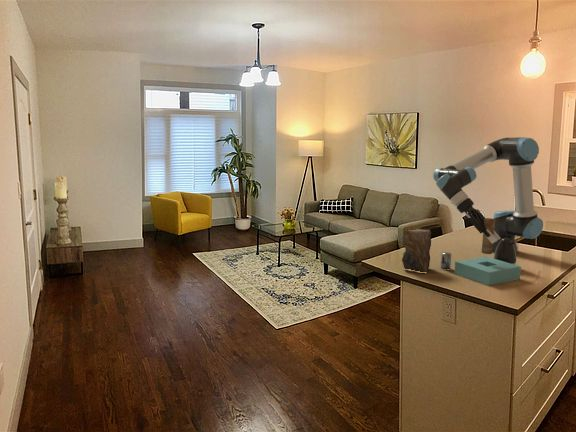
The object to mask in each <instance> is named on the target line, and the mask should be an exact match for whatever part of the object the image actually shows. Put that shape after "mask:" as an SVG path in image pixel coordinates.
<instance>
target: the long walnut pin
mask: <svg viewBox="0 0 576 432" xmlns="http://www.w3.org/2000/svg"><path fill="white" fill-rule="evenodd" d="M494 221H495V219H493V218H489V217H487V218H486V217H485V218H484V226H485V228H486V230H487V229H488V230H489V231H490V232H491V233H492V234H493V235H494ZM492 249H493V244H492V243H491V242H490V241H489V240H488V238H487V237H486V236H485V235H484V234H483V233H482V243H481V253H482V254H484V255H493V252H492Z"/></svg>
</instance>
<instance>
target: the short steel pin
mask: <svg viewBox="0 0 576 432" xmlns="http://www.w3.org/2000/svg"><path fill="white" fill-rule="evenodd" d="M440 255H441V257H440V259H441V260H440V269H441V268H442V269H450V270H451V268H452V267H451V266H452V264H451V263H452V253H451V252H448V251H444V252H443V251H442V252H441V254H440ZM442 269H441V270H442Z"/></svg>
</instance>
